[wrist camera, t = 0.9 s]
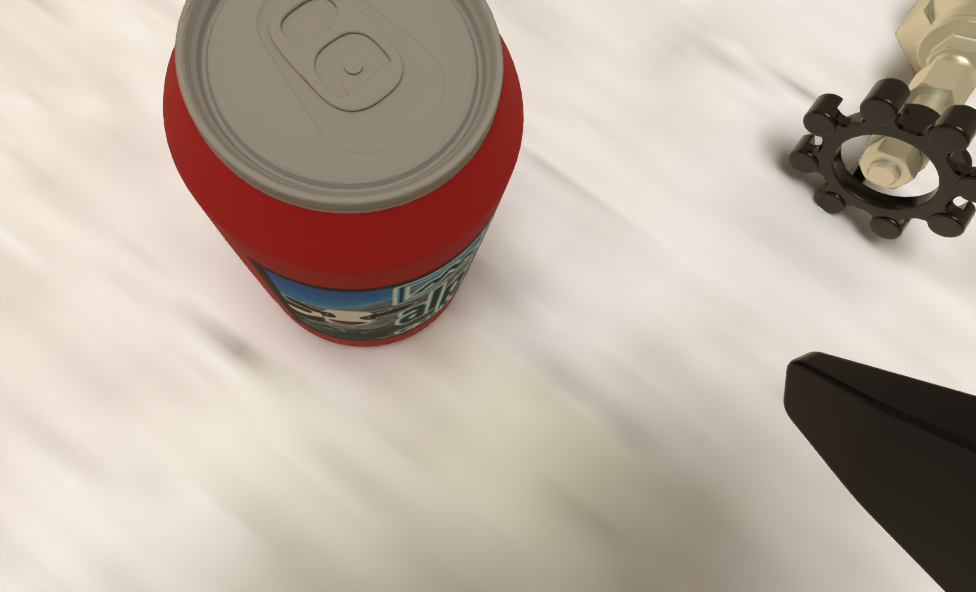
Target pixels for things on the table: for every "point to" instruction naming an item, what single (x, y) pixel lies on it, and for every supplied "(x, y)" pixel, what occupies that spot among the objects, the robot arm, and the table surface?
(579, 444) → the table surface
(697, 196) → the table surface
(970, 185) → the valve
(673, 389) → the table surface
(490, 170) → the beverage can
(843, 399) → the robot arm
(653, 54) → the table surface
